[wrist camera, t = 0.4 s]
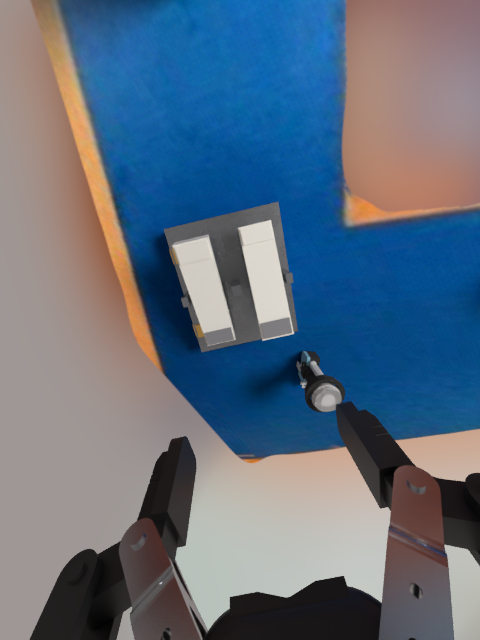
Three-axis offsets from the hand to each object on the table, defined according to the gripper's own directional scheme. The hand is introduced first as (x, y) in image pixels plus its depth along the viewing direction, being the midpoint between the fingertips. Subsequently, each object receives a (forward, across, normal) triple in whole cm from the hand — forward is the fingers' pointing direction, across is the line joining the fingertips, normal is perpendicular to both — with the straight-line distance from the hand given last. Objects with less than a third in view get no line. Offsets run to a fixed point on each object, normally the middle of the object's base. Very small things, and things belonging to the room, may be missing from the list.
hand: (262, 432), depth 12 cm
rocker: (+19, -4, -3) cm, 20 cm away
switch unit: (+25, 0, -3) cm, 26 cm away
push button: (+25, -8, +14) cm, 30 cm away
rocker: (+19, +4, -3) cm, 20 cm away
